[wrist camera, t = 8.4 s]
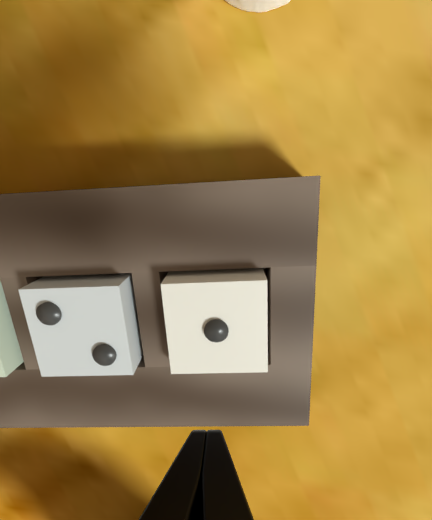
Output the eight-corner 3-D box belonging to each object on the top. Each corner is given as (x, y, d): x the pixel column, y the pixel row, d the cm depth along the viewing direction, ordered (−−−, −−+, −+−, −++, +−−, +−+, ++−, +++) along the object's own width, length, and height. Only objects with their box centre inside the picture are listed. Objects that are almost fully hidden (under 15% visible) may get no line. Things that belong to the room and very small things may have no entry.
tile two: (149, 342, 17) (132, 377, 14) (72, 344, 18) (39, 378, 15) (138, 267, 16) (117, 287, 13) (55, 270, 16) (15, 290, 13)
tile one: (260, 339, 17) (268, 374, 14) (180, 341, 17) (170, 376, 14) (260, 261, 16) (267, 281, 13) (172, 265, 16) (159, 285, 13)
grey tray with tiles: (296, 388, 19) (308, 425, 16) (-33, 393, 20) (-76, 428, 17) (302, 176, 15) (320, 175, 12) (-103, 200, 16) (-173, 204, 14)
